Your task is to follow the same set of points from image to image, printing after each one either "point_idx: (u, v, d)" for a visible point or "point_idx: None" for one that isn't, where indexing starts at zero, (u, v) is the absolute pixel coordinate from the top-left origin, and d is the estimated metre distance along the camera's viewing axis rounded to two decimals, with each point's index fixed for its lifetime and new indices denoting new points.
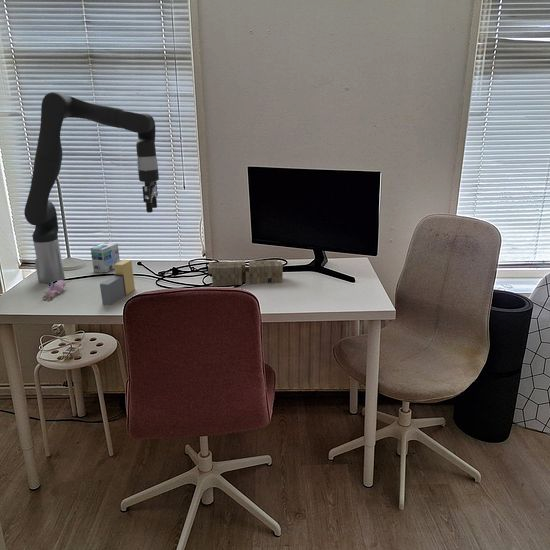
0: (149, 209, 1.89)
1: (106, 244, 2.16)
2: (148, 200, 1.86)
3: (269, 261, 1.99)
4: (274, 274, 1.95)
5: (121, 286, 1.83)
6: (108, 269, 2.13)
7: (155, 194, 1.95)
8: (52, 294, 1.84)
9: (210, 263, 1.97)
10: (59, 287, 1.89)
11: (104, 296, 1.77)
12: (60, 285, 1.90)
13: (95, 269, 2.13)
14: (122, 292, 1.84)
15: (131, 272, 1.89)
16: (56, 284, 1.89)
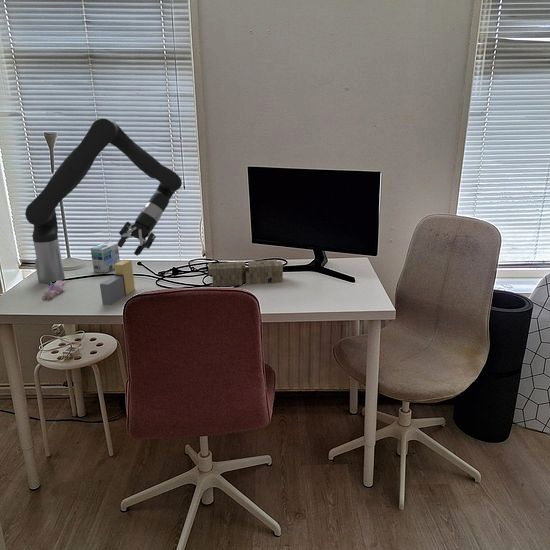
0: (139, 253, 1.91)
1: (106, 244, 2.16)
2: (148, 247, 1.92)
3: (269, 261, 1.99)
4: (274, 274, 1.96)
5: (121, 286, 1.83)
6: (108, 269, 2.13)
7: (130, 237, 1.96)
8: (52, 294, 1.84)
9: (210, 264, 1.96)
10: (58, 287, 1.89)
11: (104, 296, 1.77)
12: (59, 285, 1.89)
13: (95, 269, 2.13)
14: (122, 292, 1.84)
15: (131, 272, 1.89)
16: (55, 284, 1.89)
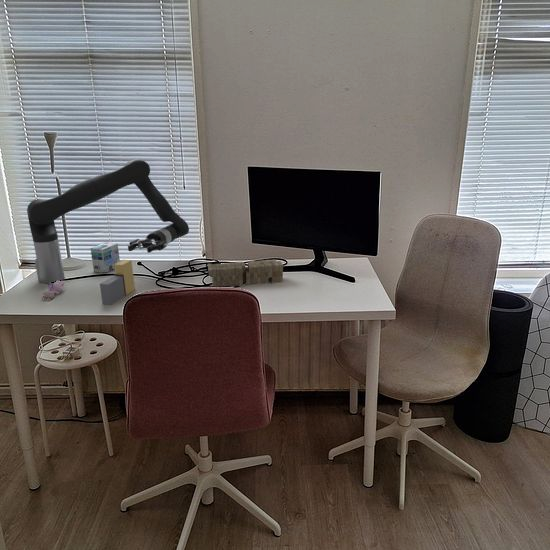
0: (151, 250, 1.95)
1: (106, 244, 2.16)
2: (160, 248, 1.98)
3: (268, 261, 2.00)
4: (274, 274, 1.96)
5: (121, 286, 1.83)
6: (108, 269, 2.13)
7: (139, 248, 2.01)
8: (51, 294, 1.84)
9: (209, 265, 1.95)
10: (58, 287, 1.89)
11: (104, 296, 1.77)
12: (59, 285, 1.89)
13: (95, 269, 2.13)
14: (122, 292, 1.84)
15: (131, 272, 1.89)
16: (55, 284, 1.89)
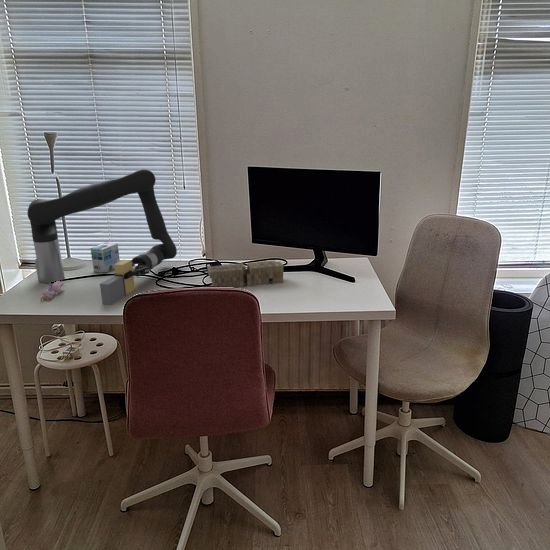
0: (129, 276, 1.85)
1: (106, 244, 2.16)
2: (138, 274, 1.88)
3: (268, 262, 1.98)
4: (275, 274, 1.95)
5: (121, 286, 1.83)
6: (108, 269, 2.13)
7: None
8: (50, 295, 1.83)
9: (209, 267, 1.92)
10: (57, 288, 1.88)
11: (104, 296, 1.77)
12: (58, 286, 1.89)
13: (95, 269, 2.13)
14: (122, 292, 1.84)
15: None
16: (54, 285, 1.88)
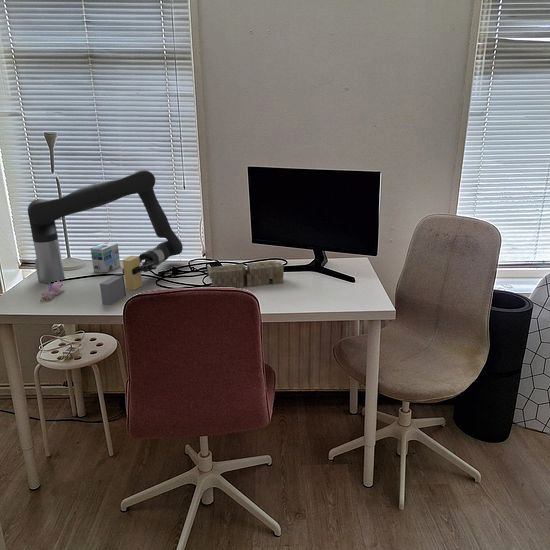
0: (136, 272, 1.90)
1: (106, 244, 2.16)
2: (146, 270, 1.93)
3: (268, 262, 1.98)
4: (275, 275, 1.94)
5: (121, 286, 1.83)
6: (108, 269, 2.13)
7: None
8: (50, 295, 1.83)
9: (209, 267, 1.92)
10: (56, 288, 1.88)
11: (104, 296, 1.77)
12: (57, 286, 1.88)
13: (95, 269, 2.13)
14: (122, 292, 1.84)
15: None
16: (53, 285, 1.88)
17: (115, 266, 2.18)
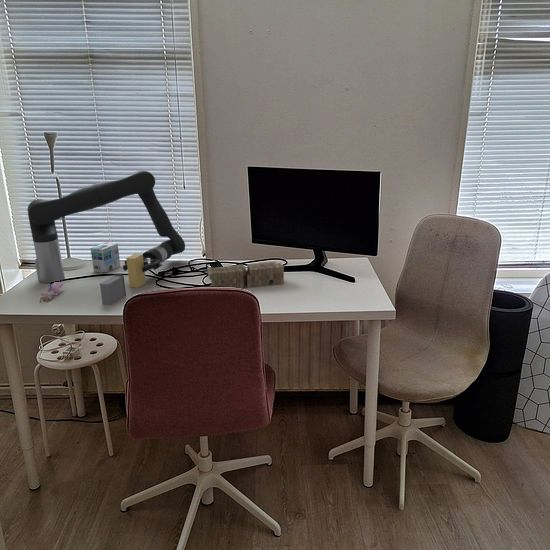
0: (147, 269, 1.93)
1: (106, 244, 2.16)
2: (156, 267, 1.96)
3: (268, 263, 1.97)
4: (275, 276, 1.93)
5: (121, 286, 1.83)
6: (108, 269, 2.13)
7: None
8: (49, 296, 1.83)
9: (209, 268, 1.91)
10: (56, 289, 1.87)
11: (104, 296, 1.77)
12: (57, 287, 1.88)
13: (95, 269, 2.13)
14: (122, 292, 1.84)
15: (142, 266, 1.96)
16: (53, 286, 1.87)
17: (115, 266, 2.18)
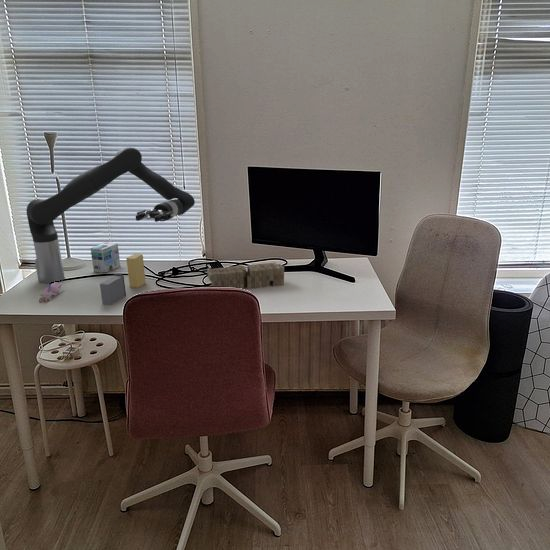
0: (159, 219, 1.98)
1: (106, 244, 2.16)
2: (167, 218, 2.02)
3: (268, 264, 1.96)
4: (276, 277, 1.92)
5: (121, 286, 1.83)
6: (108, 269, 2.13)
7: (146, 218, 2.05)
8: (49, 296, 1.82)
9: (209, 269, 1.90)
10: (55, 289, 1.87)
11: (104, 296, 1.77)
12: (56, 287, 1.88)
13: (95, 269, 2.13)
14: (122, 292, 1.84)
15: (142, 266, 1.96)
16: (52, 286, 1.87)
17: (115, 266, 2.18)
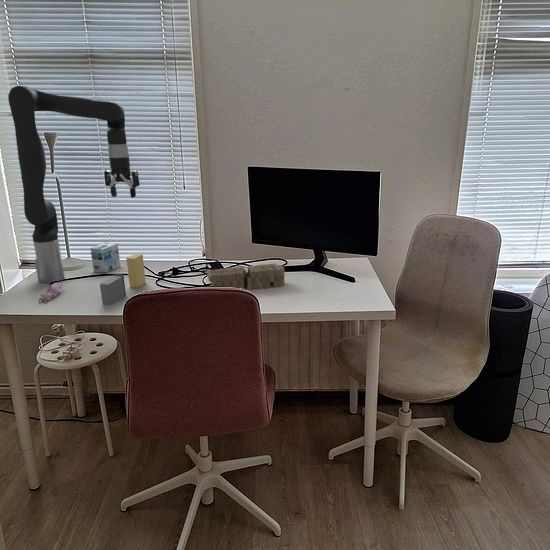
0: (135, 194, 1.97)
1: (106, 244, 2.16)
2: (138, 184, 1.96)
3: (268, 265, 1.95)
4: (276, 278, 1.91)
5: (121, 286, 1.83)
6: (108, 269, 2.13)
7: (117, 182, 1.99)
8: (48, 297, 1.82)
9: (209, 270, 1.88)
10: (55, 290, 1.86)
11: (104, 296, 1.77)
12: (56, 287, 1.87)
13: (95, 269, 2.13)
14: (122, 292, 1.84)
15: (142, 266, 1.96)
16: (52, 287, 1.87)
17: (115, 266, 2.18)
